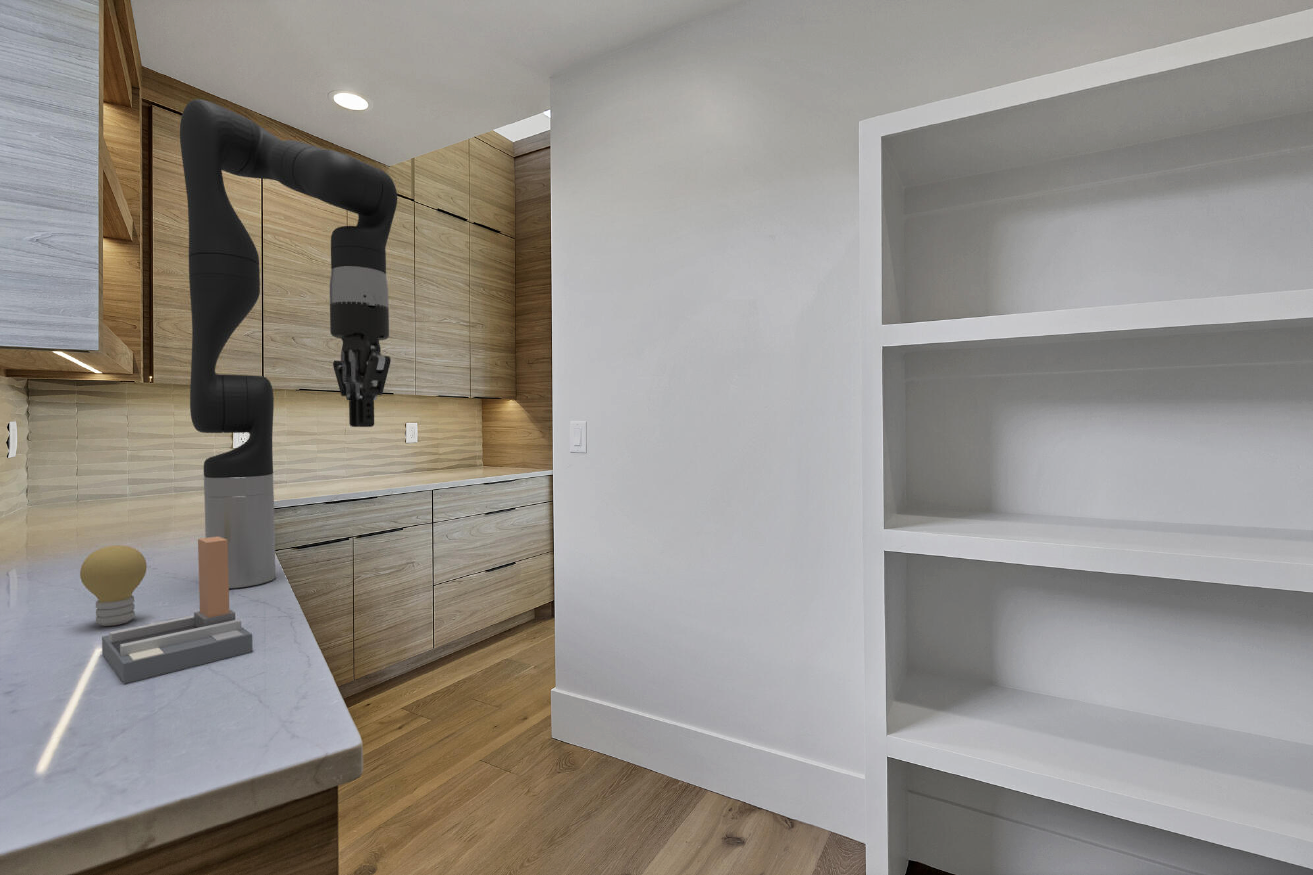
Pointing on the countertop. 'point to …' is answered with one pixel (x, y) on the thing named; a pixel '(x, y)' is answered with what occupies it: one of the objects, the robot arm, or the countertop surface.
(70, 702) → the countertop surface
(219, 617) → the lever
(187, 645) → the switch panel
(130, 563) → the light bulb
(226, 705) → the countertop surface
